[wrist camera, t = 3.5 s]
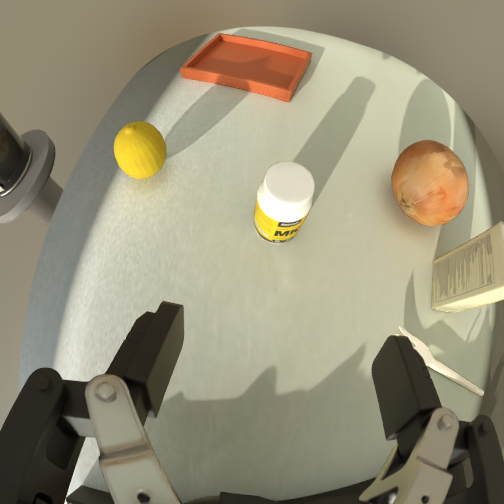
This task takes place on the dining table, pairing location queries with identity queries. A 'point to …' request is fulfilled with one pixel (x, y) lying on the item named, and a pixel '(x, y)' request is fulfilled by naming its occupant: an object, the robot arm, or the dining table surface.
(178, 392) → the dining table surface
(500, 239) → the cosmetic box
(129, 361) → the robot arm
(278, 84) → the tray
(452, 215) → the onion
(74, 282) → the dining table surface
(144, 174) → the lemon
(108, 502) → the food platter
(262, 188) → the supplement bottle
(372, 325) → the dining table surface
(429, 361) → the fork
